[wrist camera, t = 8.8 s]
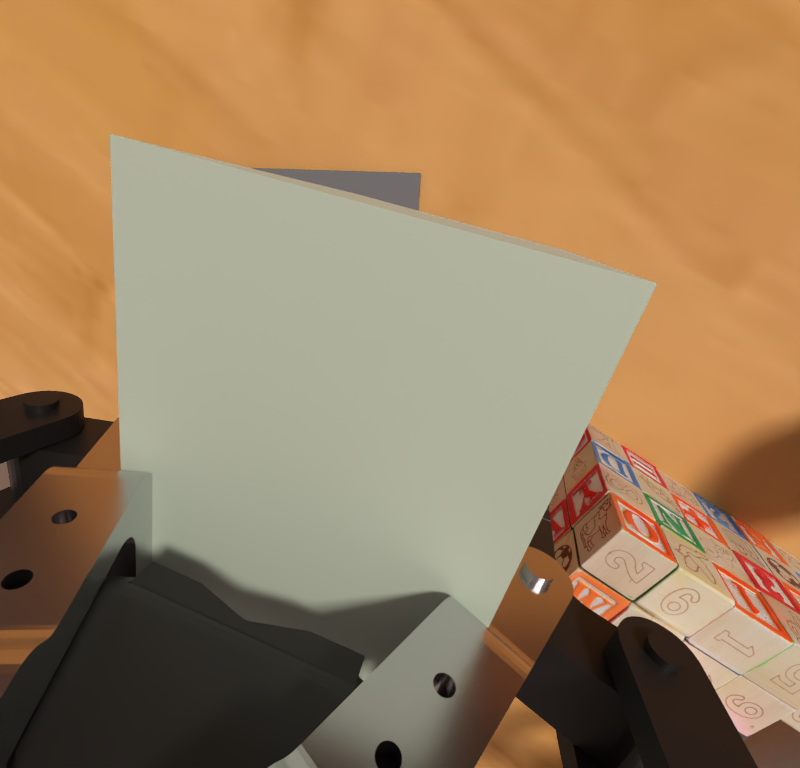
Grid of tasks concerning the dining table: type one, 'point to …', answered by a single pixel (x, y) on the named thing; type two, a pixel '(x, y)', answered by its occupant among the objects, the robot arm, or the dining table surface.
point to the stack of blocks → (683, 576)
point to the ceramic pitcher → (774, 746)
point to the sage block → (346, 391)
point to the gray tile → (363, 183)
